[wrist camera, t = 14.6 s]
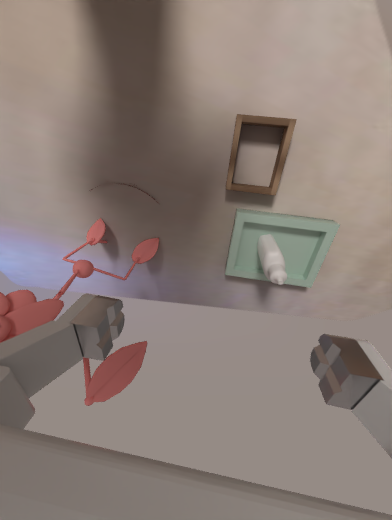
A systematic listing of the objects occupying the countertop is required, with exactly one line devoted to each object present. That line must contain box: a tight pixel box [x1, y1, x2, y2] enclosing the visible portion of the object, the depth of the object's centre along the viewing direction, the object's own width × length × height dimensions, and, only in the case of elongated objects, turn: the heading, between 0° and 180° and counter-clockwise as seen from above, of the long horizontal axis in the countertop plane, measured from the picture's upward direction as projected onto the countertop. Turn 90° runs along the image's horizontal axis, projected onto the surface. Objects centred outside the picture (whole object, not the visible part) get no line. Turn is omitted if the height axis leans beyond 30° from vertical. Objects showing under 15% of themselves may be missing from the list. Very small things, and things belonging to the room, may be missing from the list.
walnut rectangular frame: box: [226, 114, 297, 195], centre depth 31 cm, size 10×8×2 cm
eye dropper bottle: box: [257, 234, 287, 285], centre depth 33 cm, size 4×6×12 cm
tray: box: [225, 209, 340, 288], centre depth 38 cm, size 17×13×2 cm
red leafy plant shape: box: [0, 183, 159, 406], centre depth 25 cm, size 15×26×35 cm, turn 69°
